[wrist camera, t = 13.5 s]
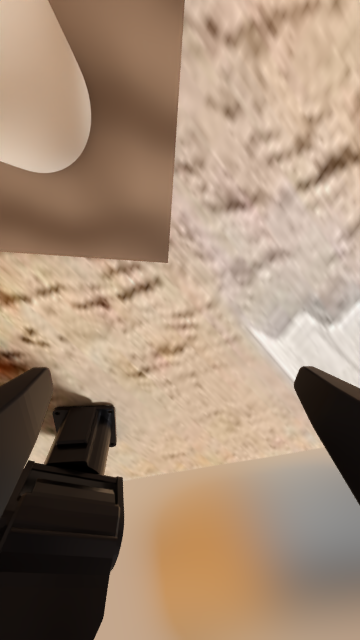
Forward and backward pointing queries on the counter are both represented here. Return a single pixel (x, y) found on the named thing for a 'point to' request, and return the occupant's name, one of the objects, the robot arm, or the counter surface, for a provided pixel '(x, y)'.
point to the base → (108, 140)
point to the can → (39, 90)
